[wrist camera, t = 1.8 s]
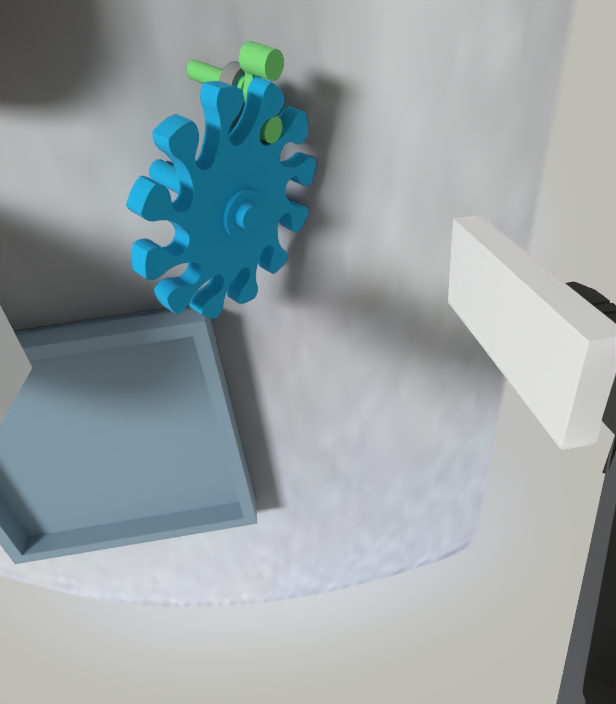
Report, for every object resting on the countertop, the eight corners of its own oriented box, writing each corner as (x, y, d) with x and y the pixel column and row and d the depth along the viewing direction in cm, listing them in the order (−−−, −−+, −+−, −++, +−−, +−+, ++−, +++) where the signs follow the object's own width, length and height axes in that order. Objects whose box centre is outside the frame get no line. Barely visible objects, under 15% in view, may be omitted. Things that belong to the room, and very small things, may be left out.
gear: (283, 314, 27) (126, 340, 18) (206, 269, 29) (36, 273, 21) (361, 95, 23) (202, 0, 14) (263, 63, 25) (80, -34, 17)
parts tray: (206, 302, 28) (204, 320, 26) (256, 500, 37) (257, 523, 36) (-111, 349, 27) (-133, 371, 25) (24, 539, 37) (15, 564, 35)
